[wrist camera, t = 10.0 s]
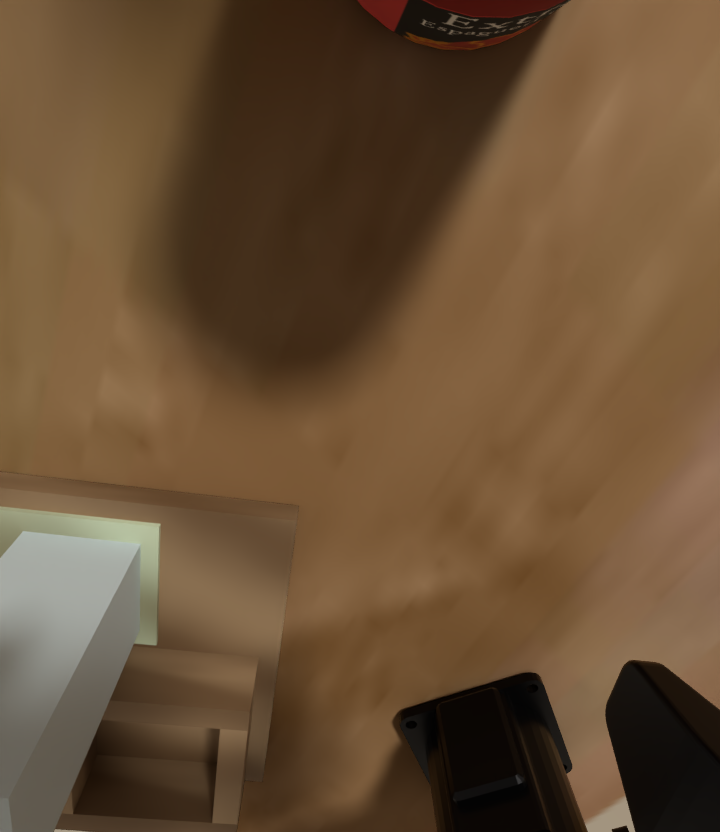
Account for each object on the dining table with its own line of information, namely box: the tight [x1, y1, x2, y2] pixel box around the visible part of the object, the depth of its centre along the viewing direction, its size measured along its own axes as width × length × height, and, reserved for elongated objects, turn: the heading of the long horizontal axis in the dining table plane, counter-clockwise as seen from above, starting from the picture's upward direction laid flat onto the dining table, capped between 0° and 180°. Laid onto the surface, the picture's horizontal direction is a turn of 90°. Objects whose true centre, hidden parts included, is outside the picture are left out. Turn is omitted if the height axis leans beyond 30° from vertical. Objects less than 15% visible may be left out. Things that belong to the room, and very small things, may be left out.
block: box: [0, 531, 141, 832], centre depth 17 cm, size 4×4×9 cm
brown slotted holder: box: [0, 472, 299, 832], centre depth 22 cm, size 14×11×4 cm
